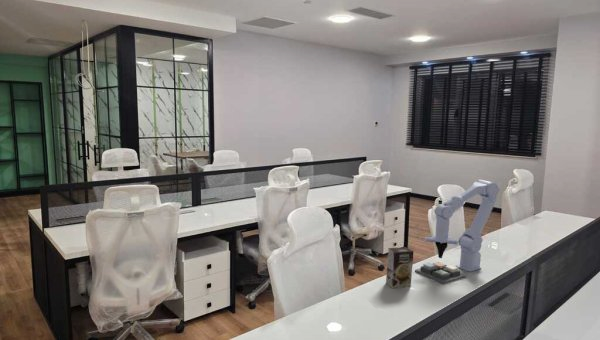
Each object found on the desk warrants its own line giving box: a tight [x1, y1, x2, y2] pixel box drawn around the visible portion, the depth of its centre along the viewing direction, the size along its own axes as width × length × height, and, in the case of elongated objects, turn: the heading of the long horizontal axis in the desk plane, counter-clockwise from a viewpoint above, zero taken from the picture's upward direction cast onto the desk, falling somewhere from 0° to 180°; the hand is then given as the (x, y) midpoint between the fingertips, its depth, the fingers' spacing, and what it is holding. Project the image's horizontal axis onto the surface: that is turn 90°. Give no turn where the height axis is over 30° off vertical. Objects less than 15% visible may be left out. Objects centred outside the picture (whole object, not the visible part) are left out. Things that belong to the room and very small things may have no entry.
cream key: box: [445, 264, 459, 273], centre depth 189 cm, size 4×4×2 cm
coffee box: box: [385, 246, 414, 289], centre depth 177 cm, size 9×6×16 cm
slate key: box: [422, 262, 436, 270], centre depth 192 cm, size 4×4×2 cm
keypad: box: [414, 261, 467, 285], centre depth 191 cm, size 16×16×3 cm
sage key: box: [435, 270, 448, 275], centre depth 186 cm, size 4×4×2 cm
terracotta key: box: [433, 261, 447, 267], centre depth 196 cm, size 4×4×2 cm
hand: (440, 257), depth 195 cm, fingers closed
